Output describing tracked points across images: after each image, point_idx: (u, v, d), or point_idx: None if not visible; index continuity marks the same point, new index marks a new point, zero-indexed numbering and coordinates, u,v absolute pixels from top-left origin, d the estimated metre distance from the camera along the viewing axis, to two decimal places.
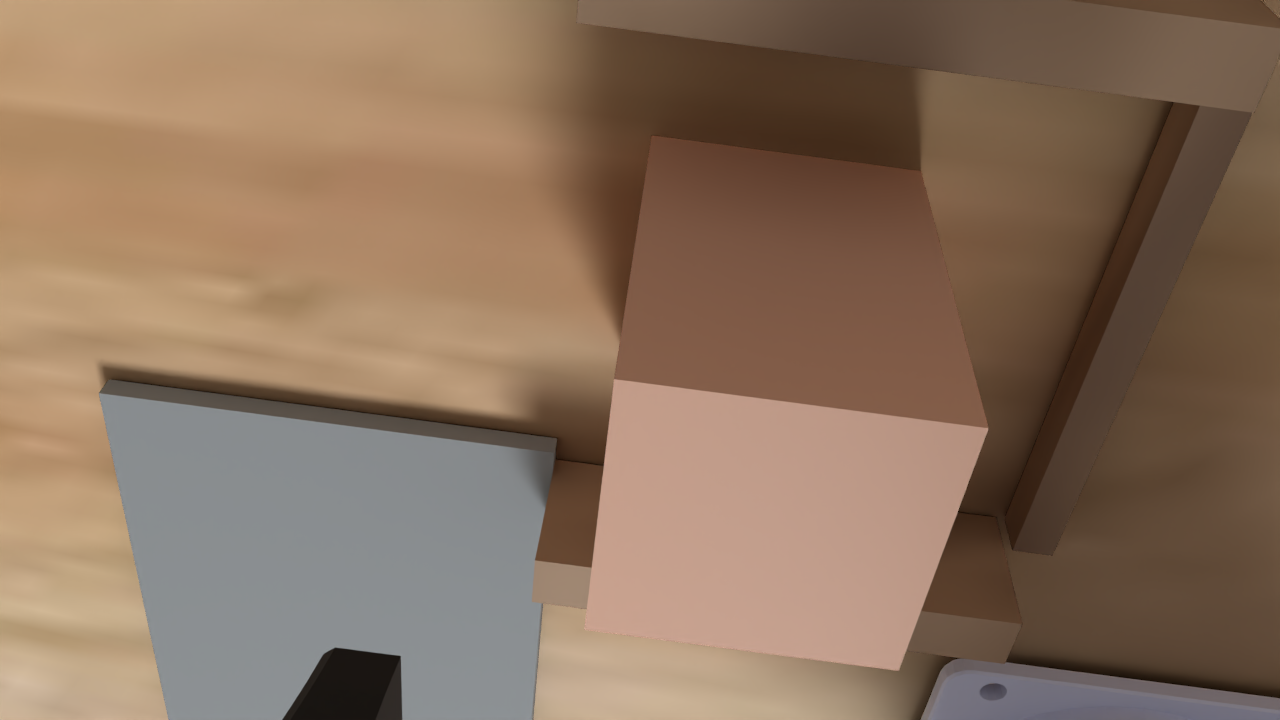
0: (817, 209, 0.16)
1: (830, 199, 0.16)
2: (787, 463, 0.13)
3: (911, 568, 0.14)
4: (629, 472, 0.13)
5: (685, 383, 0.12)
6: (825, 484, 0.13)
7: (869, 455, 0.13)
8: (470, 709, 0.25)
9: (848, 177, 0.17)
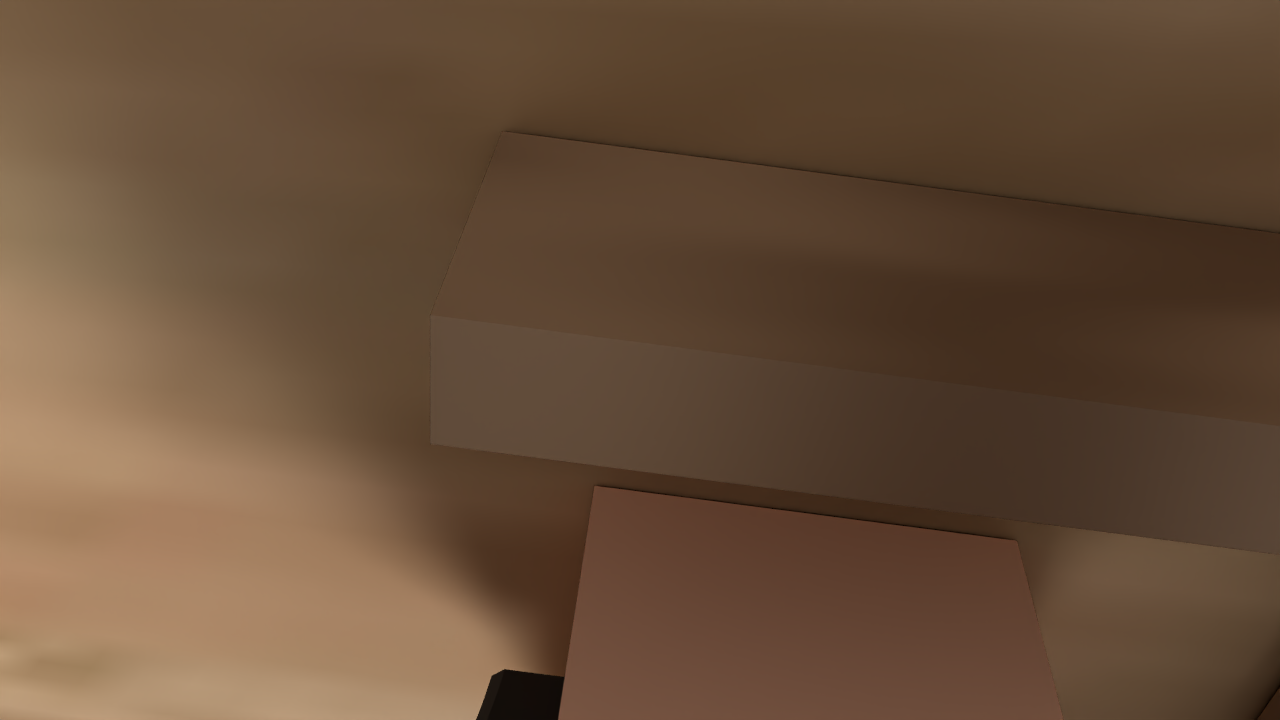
0: (859, 656, 0.10)
1: (879, 627, 0.10)
2: None
3: None
4: None
5: None
6: None
7: None
8: None
9: (904, 567, 0.11)
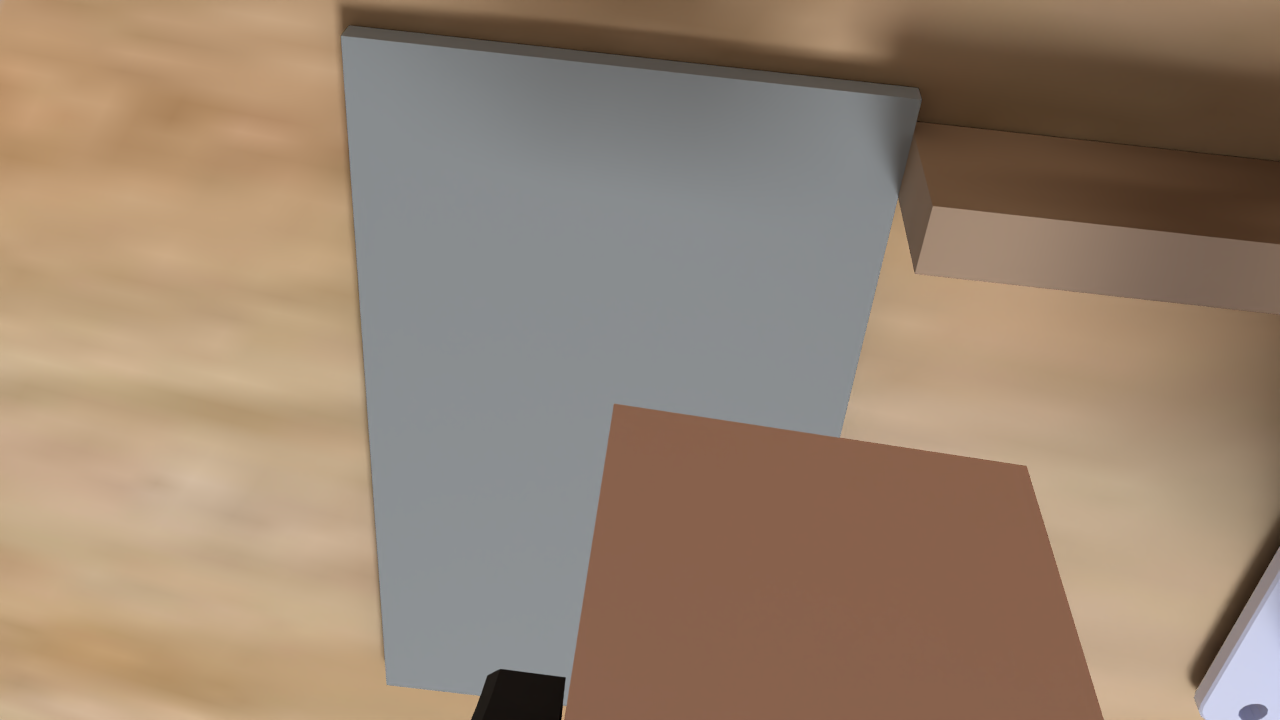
0: (875, 562, 0.10)
1: (894, 537, 0.10)
2: None
3: None
4: None
5: None
6: None
7: None
8: None
9: (918, 484, 0.11)
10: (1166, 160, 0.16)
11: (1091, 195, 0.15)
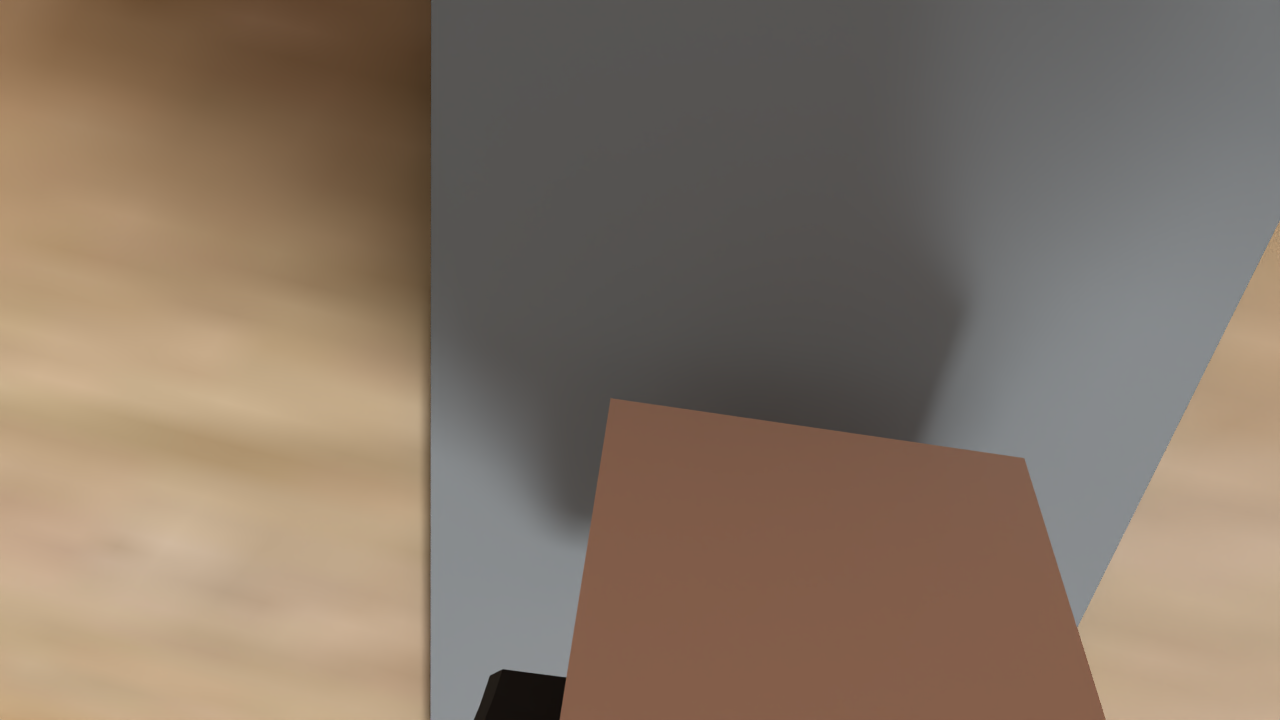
0: (872, 553, 0.10)
1: (891, 529, 0.10)
2: None
3: None
4: None
5: None
6: None
7: None
8: None
9: (916, 477, 0.11)
10: None
11: None
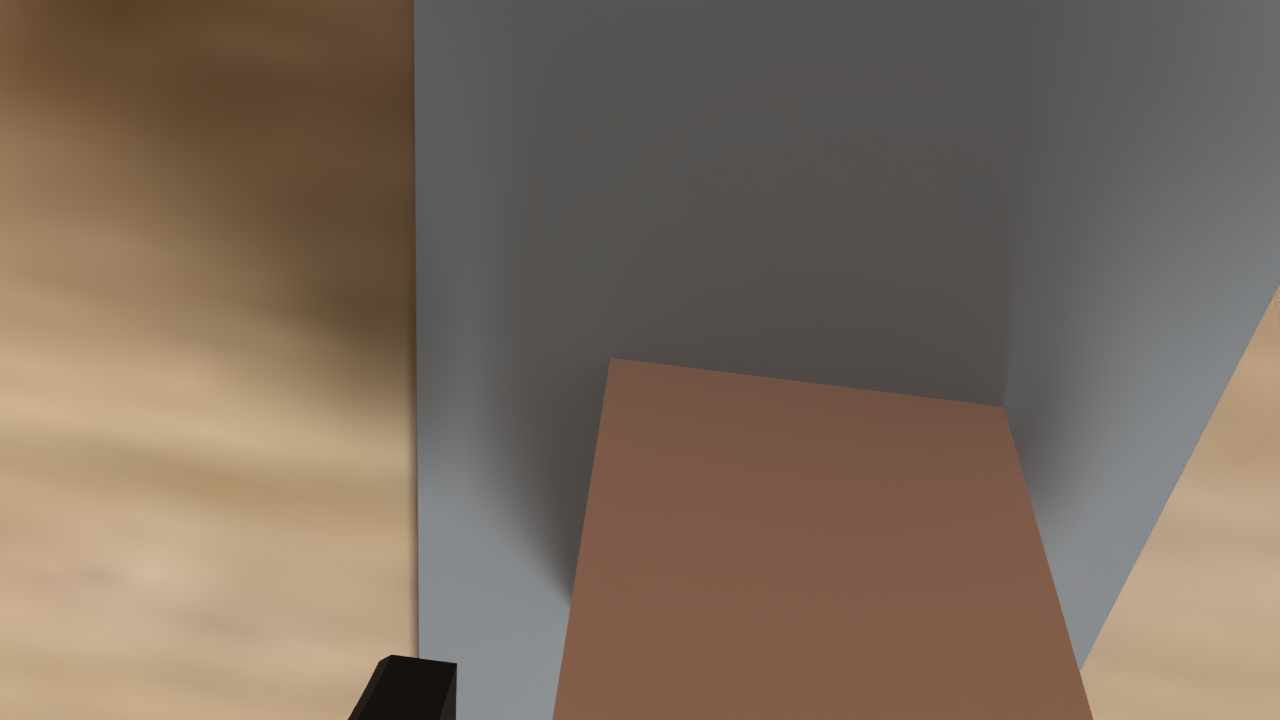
0: (856, 497, 0.10)
1: (875, 474, 0.11)
2: None
3: None
4: None
5: None
6: None
7: None
8: None
9: (899, 426, 0.11)
10: None
11: None
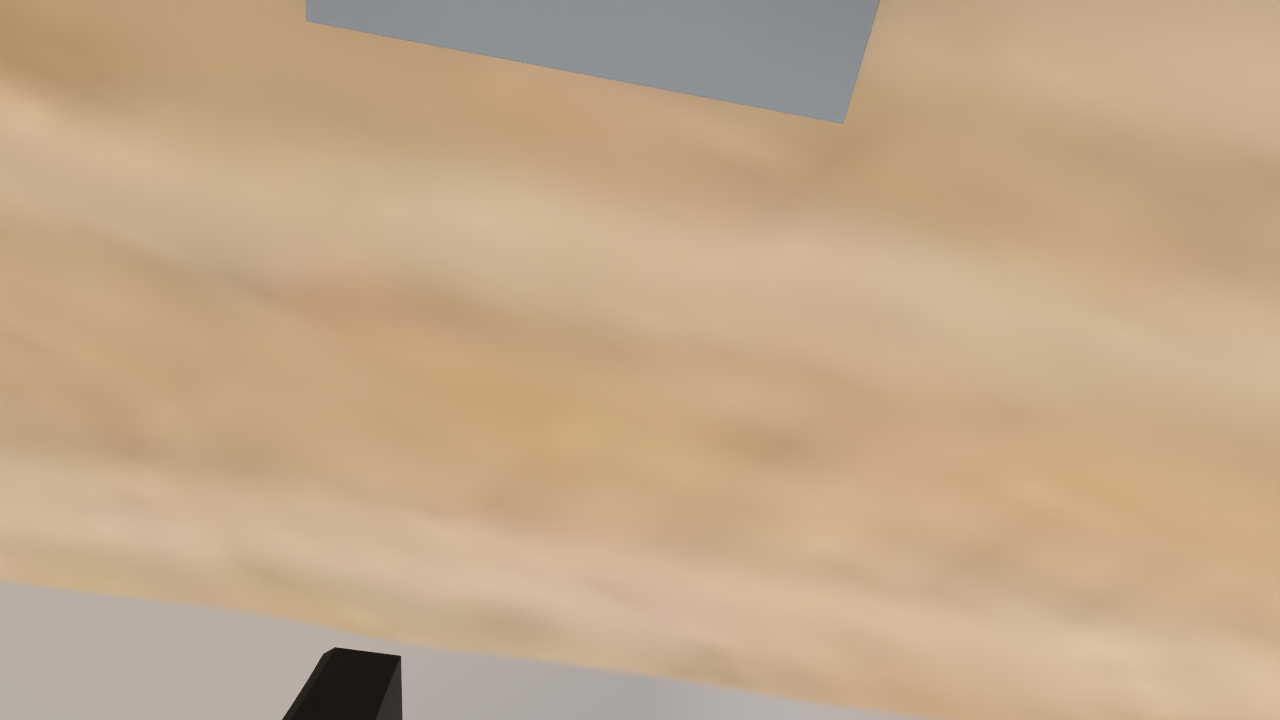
0: None
1: None
2: None
3: None
4: None
5: None
6: None
7: None
8: None
9: None
10: None
11: None
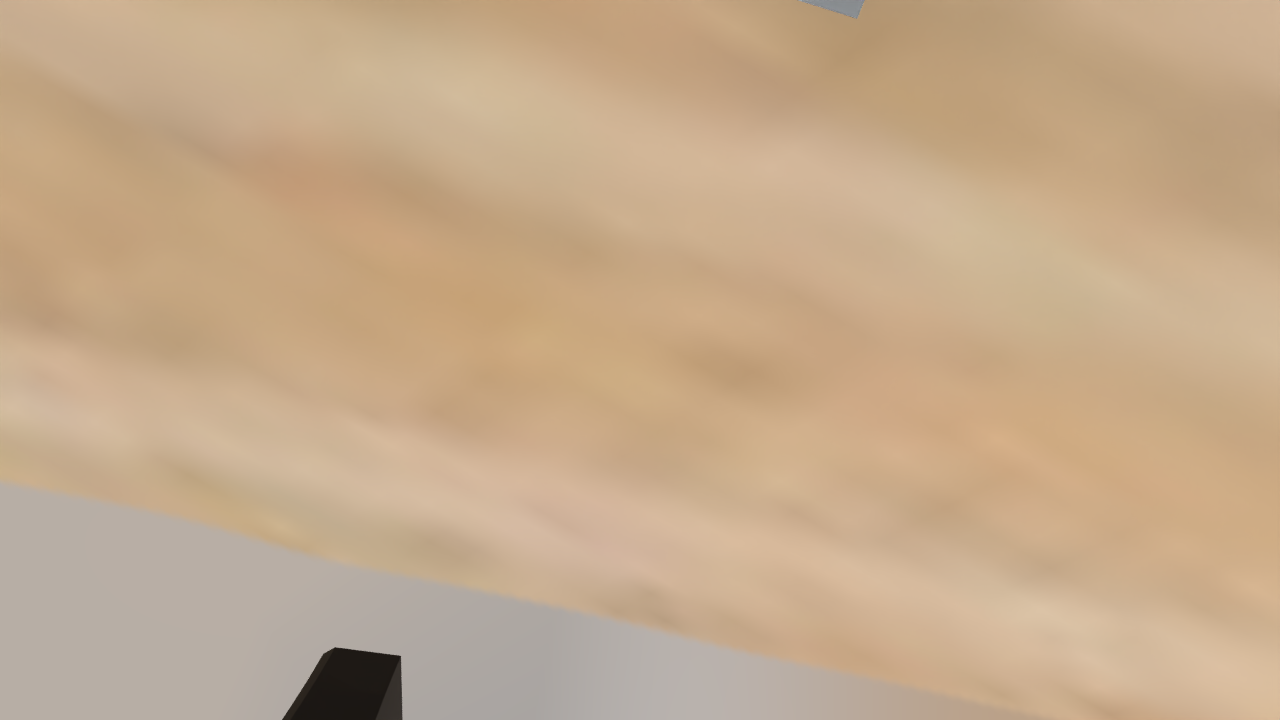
0: None
1: None
2: None
3: None
4: None
5: None
6: None
7: None
8: None
9: None
10: None
11: None
